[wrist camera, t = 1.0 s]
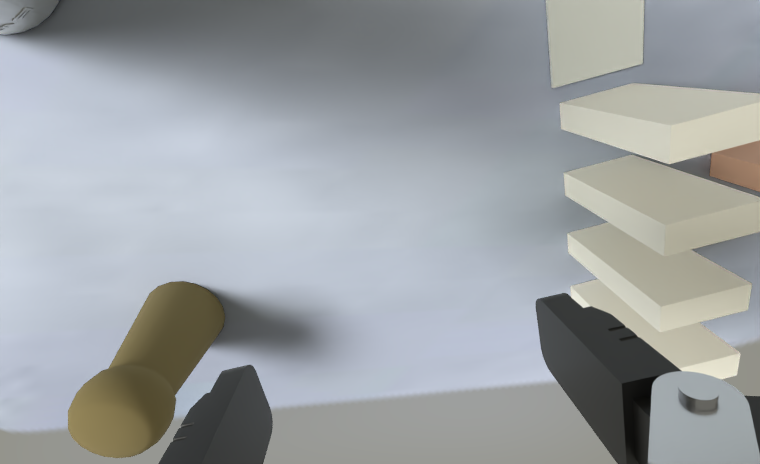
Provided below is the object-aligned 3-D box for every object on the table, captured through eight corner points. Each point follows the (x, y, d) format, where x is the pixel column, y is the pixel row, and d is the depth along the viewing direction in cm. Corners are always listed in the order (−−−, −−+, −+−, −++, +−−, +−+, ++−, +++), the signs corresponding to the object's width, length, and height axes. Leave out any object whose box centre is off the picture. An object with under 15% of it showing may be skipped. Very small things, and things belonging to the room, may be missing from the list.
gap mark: (544, -15, 24) (545, -16, 23) (642, -43, 23) (645, -44, 23) (551, 87, 26) (552, 88, 26) (640, 63, 26) (642, 63, 26)
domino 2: (563, 172, 29) (665, 225, 19) (631, 154, 28) (766, 199, 19) (565, 195, 29) (663, 256, 20) (631, 177, 29) (760, 231, 20)
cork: (148, 343, 32) (56, 475, 22) (140, 278, 29) (32, 392, 19) (226, 347, 32) (171, 476, 22) (224, 284, 30) (162, 396, 20)
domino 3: (567, 233, 31) (661, 306, 21) (630, 216, 30) (752, 283, 21) (568, 252, 31) (659, 332, 22) (630, 236, 31) (747, 310, 22)
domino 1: (559, 102, 27) (671, 125, 17) (632, 83, 26) (783, 95, 17) (561, 129, 27) (669, 164, 18) (632, 109, 27) (777, 135, 18)
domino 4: (570, 285, 33) (657, 374, 24) (629, 270, 32) (740, 353, 23) (571, 303, 33) (656, 395, 24) (629, 288, 33) (736, 375, 24)
